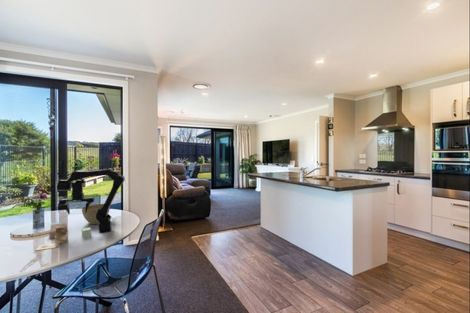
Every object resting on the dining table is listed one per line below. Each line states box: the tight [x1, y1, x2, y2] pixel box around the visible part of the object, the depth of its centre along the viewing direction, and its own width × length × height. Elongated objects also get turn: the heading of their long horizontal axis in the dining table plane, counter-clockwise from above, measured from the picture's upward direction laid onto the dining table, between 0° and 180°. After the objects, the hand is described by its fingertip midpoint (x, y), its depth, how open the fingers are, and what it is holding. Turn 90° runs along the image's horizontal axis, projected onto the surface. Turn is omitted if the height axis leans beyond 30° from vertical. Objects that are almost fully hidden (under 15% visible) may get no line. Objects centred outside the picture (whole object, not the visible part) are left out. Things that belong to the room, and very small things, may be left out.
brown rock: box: [49, 222, 68, 239], centre depth 148 cm, size 17×8×5 cm, turn 37°
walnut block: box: [56, 225, 68, 236], centre depth 135 cm, size 4×4×4 cm
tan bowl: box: [81, 203, 111, 225], centre depth 169 cm, size 18×18×12 cm
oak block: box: [54, 231, 69, 244], centre depth 135 cm, size 5×5×4 cm
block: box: [81, 227, 92, 239], centre depth 143 cm, size 4×4×4 cm
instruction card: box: [34, 242, 60, 252], centre depth 127 cm, size 9×7×1 cm
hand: (77, 213), depth 148 cm, fingers open, 9 cm apart
